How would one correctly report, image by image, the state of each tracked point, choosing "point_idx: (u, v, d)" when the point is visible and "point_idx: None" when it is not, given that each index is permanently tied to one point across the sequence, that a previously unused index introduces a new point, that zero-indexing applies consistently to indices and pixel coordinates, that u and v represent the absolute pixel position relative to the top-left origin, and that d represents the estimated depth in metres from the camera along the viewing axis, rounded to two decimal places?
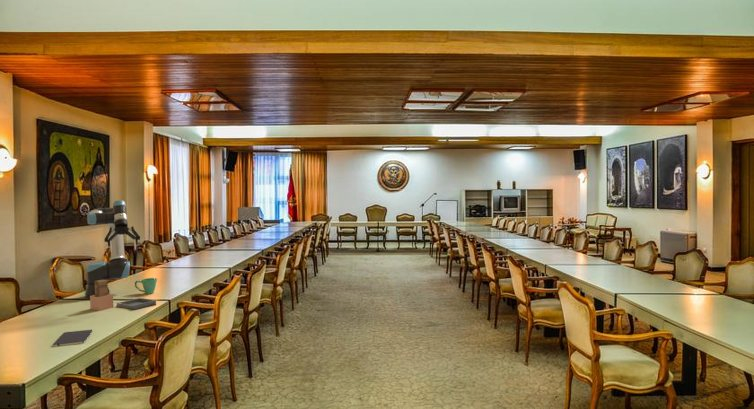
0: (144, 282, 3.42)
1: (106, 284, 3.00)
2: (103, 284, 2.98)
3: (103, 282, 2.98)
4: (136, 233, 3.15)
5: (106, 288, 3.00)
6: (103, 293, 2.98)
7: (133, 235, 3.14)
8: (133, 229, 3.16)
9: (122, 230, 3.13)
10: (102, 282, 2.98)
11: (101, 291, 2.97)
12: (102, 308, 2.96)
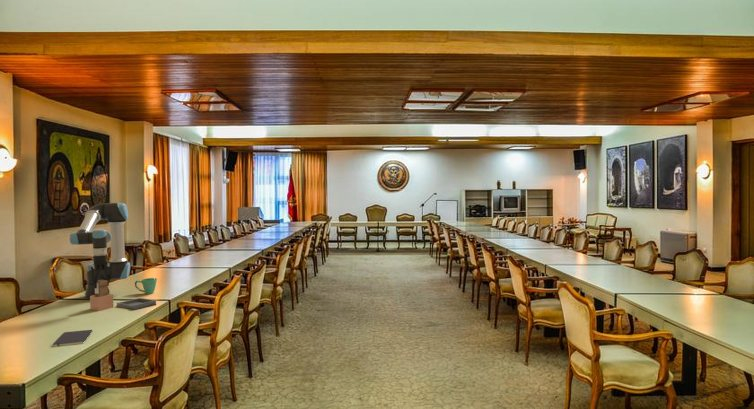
0: (144, 282, 3.42)
1: (106, 284, 3.00)
2: (103, 284, 2.98)
3: (103, 282, 2.98)
4: (110, 273, 3.04)
5: (106, 288, 3.00)
6: (103, 293, 2.98)
7: (107, 275, 3.02)
8: (110, 267, 3.04)
9: (102, 267, 2.99)
10: (102, 282, 2.98)
11: (101, 291, 2.97)
12: (102, 308, 2.96)
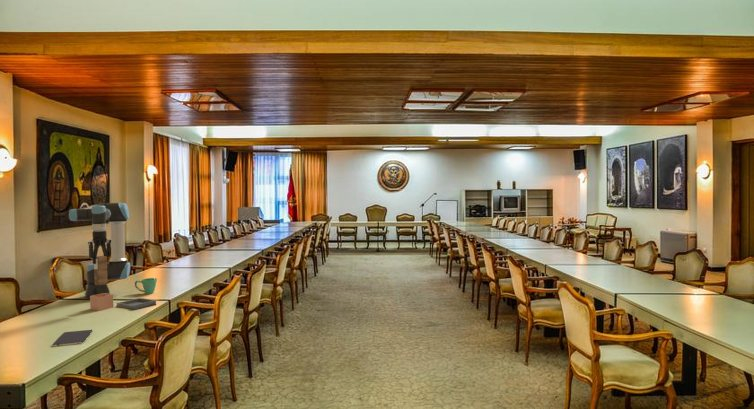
0: (144, 282, 3.42)
1: (105, 260, 3.00)
2: (102, 260, 2.98)
3: (102, 258, 2.98)
4: (110, 249, 3.03)
5: (105, 264, 3.00)
6: (102, 269, 2.98)
7: (106, 251, 3.02)
8: (110, 243, 3.03)
9: (101, 242, 2.99)
10: (101, 258, 2.97)
11: (100, 267, 2.97)
12: (102, 308, 2.96)
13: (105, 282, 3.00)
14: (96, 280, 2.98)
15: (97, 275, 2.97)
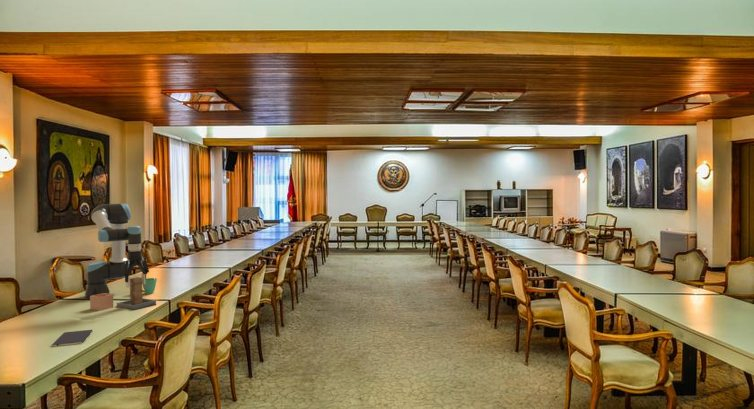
0: None
1: (141, 281, 3.07)
2: (138, 281, 3.06)
3: (138, 279, 3.06)
4: (147, 266, 3.12)
5: (141, 285, 3.07)
6: (138, 290, 3.06)
7: (144, 269, 3.11)
8: (145, 261, 3.12)
9: (136, 262, 3.06)
10: (137, 279, 3.05)
11: (136, 288, 3.05)
12: (102, 308, 2.96)
13: (140, 303, 3.07)
14: (132, 301, 3.05)
15: (133, 297, 3.05)
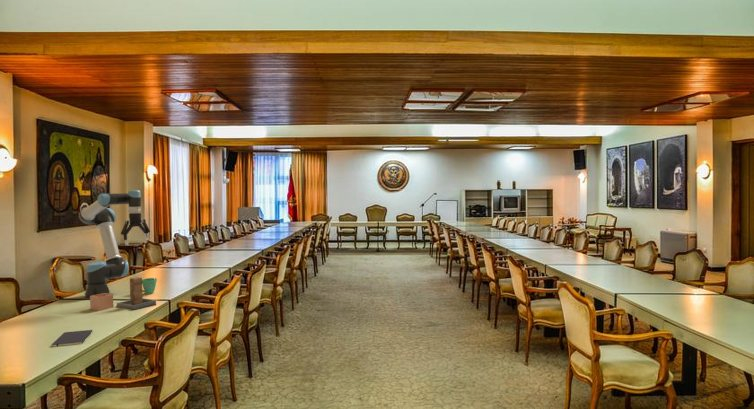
0: (144, 282, 3.42)
1: (141, 281, 3.07)
2: (138, 281, 3.06)
3: (138, 279, 3.06)
4: (147, 227, 3.40)
5: (141, 285, 3.07)
6: (138, 290, 3.06)
7: (145, 229, 3.39)
8: (145, 222, 3.39)
9: (136, 223, 3.33)
10: (137, 279, 3.05)
11: (136, 288, 3.05)
12: (102, 308, 2.96)
13: (140, 303, 3.07)
14: (132, 301, 3.05)
15: (133, 297, 3.05)
